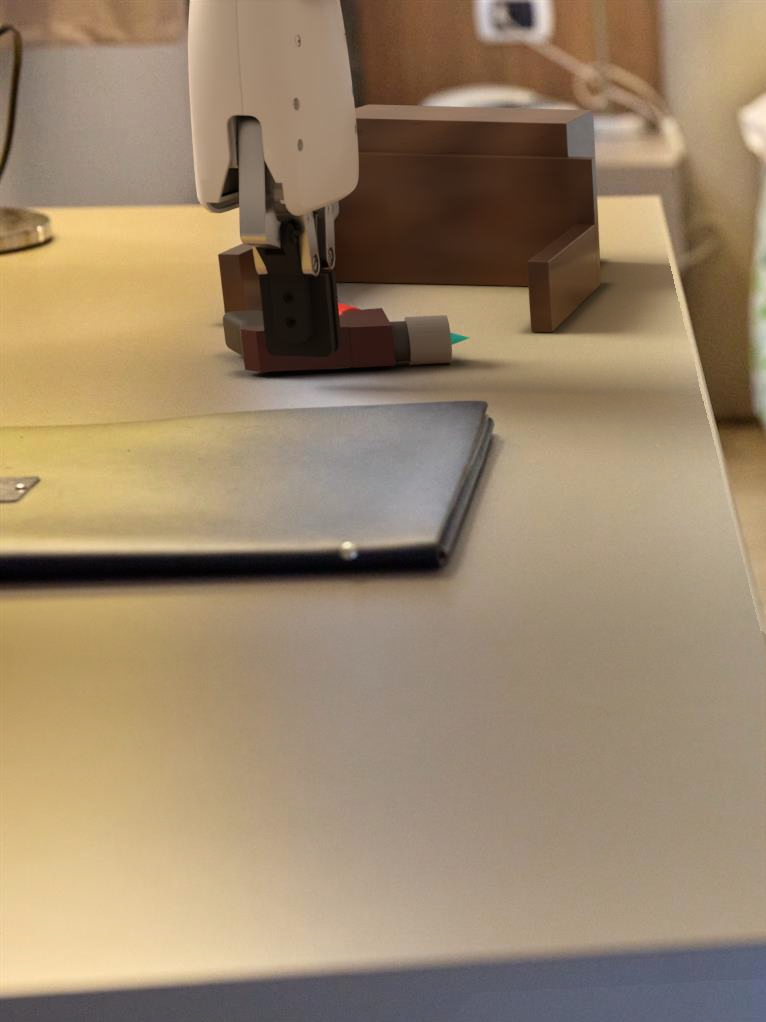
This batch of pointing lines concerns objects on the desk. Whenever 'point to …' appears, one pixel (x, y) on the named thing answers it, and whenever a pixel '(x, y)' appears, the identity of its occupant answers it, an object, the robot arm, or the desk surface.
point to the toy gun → (348, 341)
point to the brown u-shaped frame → (464, 206)
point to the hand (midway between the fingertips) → (304, 352)
